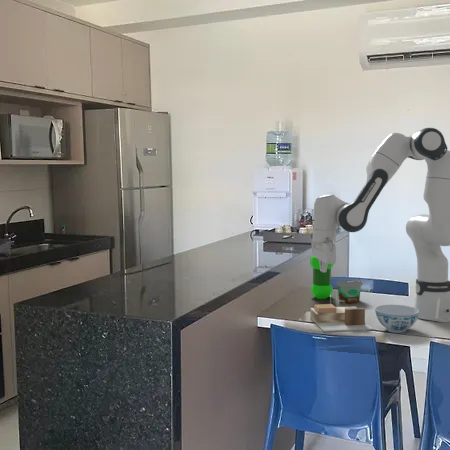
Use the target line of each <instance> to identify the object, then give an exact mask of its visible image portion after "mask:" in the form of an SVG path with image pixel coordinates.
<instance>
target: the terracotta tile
mask: <svg viewBox="0 0 450 450" xmlns="http://www.w3.org/2000/svg"><path fill="white" fill-rule="evenodd" d="M313 306H314V307H313V308H314V309H315V310H316V311H317V312H318V313H334V312H337V308H336V307H337V306H335V305H334V304H332V303H324V304H323V303H322V304H321V303H320V304H319V303H318V304H314V305H313Z"/></svg>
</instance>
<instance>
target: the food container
mask: <svg viewBox="0 0 450 450" xmlns="http://www.w3.org/2000/svg"><path fill="white" fill-rule="evenodd" d="M336 286H337V292H338V295H337V296H338V302H340V303H339V304H343V303H345V304H347V305H353V304H358V303H360V300H361V299H360V298H361V289H362V286H363V280H362V279H361V278H358V279H357V280H346V281H341V280H337V282H336ZM345 304H344V305H345Z"/></svg>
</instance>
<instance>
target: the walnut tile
mask: <svg viewBox="0 0 450 450" xmlns="http://www.w3.org/2000/svg"><path fill="white" fill-rule="evenodd" d="M365 323H366V309H365V308H364V307H357V308H345V325H346V326H349V325H365Z"/></svg>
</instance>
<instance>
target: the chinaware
mask: <svg viewBox="0 0 450 450" xmlns="http://www.w3.org/2000/svg"><path fill="white" fill-rule="evenodd" d="M374 311H375V315H376V318H377V320H378V321H379V323H380V324H381V325H382V326H383V327H384V328H386V331H387V330H388V331H387V332H390V333H394V334H395V333H396V334H399V333H400V334H401V333H406V332H407V330H409V329H410V328H411V327H413V326H414V324H415V323H416V322H417V319H419V318H418V315H419V310H418V309H416V308H414V306H413V307H412V306H410V305H408V306H407V305H404V304H382V305H378V306H375V308H374Z"/></svg>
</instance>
